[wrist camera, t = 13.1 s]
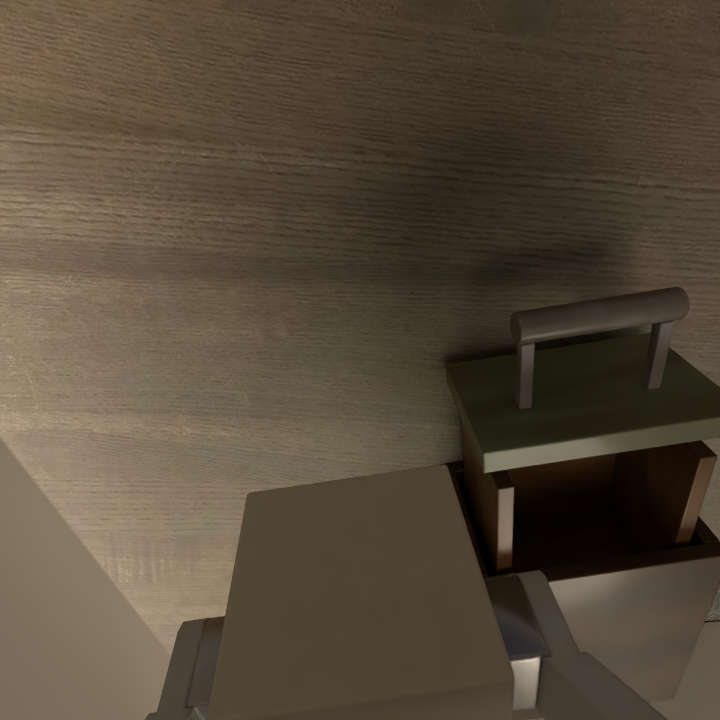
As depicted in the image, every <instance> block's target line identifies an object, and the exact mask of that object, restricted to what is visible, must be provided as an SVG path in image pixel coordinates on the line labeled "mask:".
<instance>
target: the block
mask: <svg viewBox="0 0 720 720" xmlns="http://www.w3.org/2000/svg"><path fill="white" fill-rule="evenodd" d="M514 682H515V676H514V673H513V669H512V666H511V663H510V660H509V657H508V654H507V651H506V648H505V644H504V641H503V638H502V635H501V632H500V629H499V626H498V623H497V620H496V616H495V613H494V610H493V607H492V604H491V601H490V598H489V595H488V591H487V588H486V585H485V582H484V579H483V576H482V573H481V570H480V567H479V563H478V560H477V557H476V554H475V551H474V548H473V545H472V542H471V538H470V535H469V532H468V529H467V526H466V523H465V520H464V517H463V514H462V510H461V507H460V504H459V501H458V498H457V495H456V492H455V489H454V485H453V482H452V479H451V476H450V473H449V470H448V467H447V466H446V465H437V466H430V467H423V468H416V469H409V470H402V471H396V472H389V473H382V474H375V475H368V476H361V477H354V478H348V479H341V480H334V481H327V482H320V483H313V484H306V485H300V486H293V487H286V488H279V489H272V490H265V491H258V492H252V493H249V494H248V495H247V498H246V504H245V510H244V515H243V521H242V526H241V532H240V537H239V543H238V548H237V554H236V560H235V565H234V571H233V576H232V582H231V587H230V593H229V598H228V604H227V610H226V615H225V621H224V626H223V632H222V637H221V643H220V648H219V654H218V660H217V665H216V671H215V676H214V682H213V687H212V693H211V698H210V704H209V710H208V715H207V720H512V715H513V698H514Z"/></svg>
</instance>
